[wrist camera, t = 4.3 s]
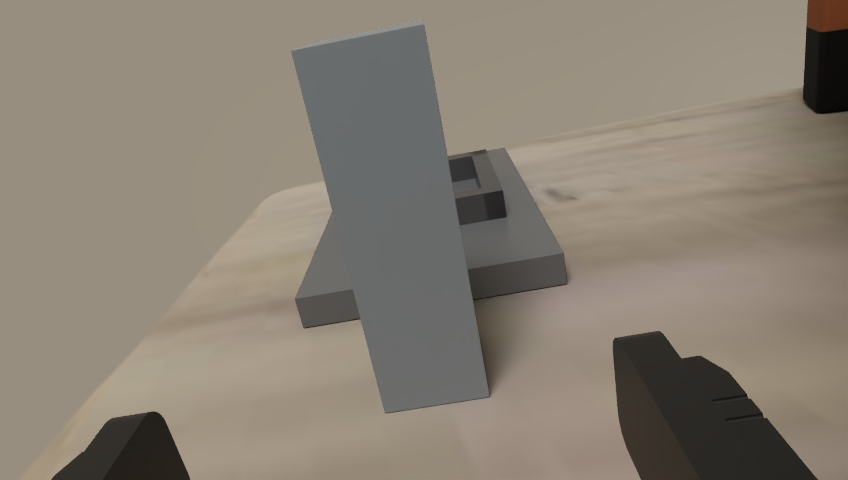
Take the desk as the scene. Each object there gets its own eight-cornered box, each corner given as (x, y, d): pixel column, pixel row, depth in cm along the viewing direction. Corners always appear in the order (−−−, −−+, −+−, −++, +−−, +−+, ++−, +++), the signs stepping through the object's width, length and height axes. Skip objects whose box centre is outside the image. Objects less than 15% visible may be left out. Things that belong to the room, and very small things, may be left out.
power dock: (507, 166, 45) (501, 127, 44) (567, 283, 26) (560, 220, 25) (351, 195, 46) (342, 157, 44) (303, 327, 27) (285, 268, 26)
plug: (479, 335, 24) (423, 20, 19) (489, 397, 20) (423, 24, 16) (390, 349, 24) (315, 41, 20) (384, 413, 20) (291, 50, 16)
